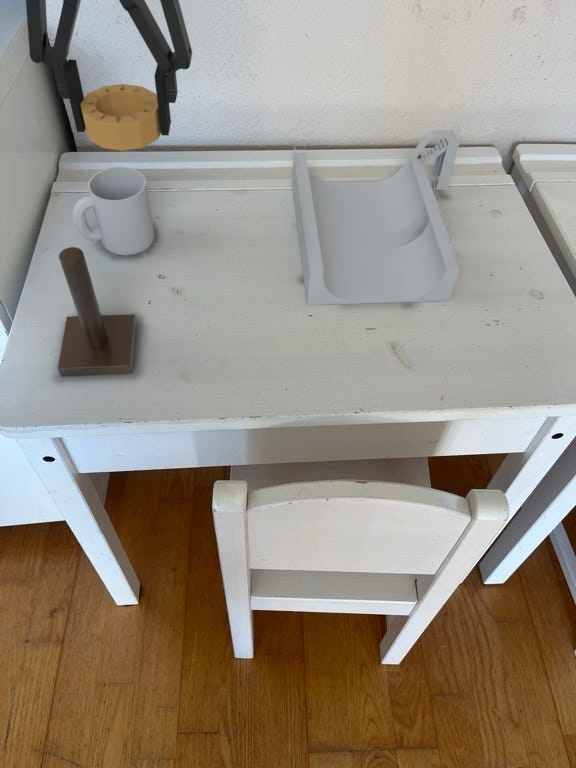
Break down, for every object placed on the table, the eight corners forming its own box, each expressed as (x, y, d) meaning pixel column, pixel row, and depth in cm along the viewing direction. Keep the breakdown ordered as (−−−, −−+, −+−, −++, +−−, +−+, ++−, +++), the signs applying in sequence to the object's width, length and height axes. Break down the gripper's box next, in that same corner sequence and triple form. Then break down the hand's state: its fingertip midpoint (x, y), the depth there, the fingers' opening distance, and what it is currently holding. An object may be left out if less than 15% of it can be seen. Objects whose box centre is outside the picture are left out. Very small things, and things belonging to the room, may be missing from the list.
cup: (161, 249, 86) (153, 193, 78) (88, 267, 83) (72, 212, 76) (147, 217, 89) (137, 161, 82) (76, 234, 87) (59, 178, 80)
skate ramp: (292, 185, 95) (295, 123, 87) (439, 183, 97) (456, 122, 89) (307, 304, 80) (312, 243, 72) (481, 300, 82) (505, 239, 74)
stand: (60, 376, 72) (23, 284, 60) (69, 324, 77) (36, 229, 65) (132, 373, 73) (108, 281, 61) (136, 322, 77) (115, 227, 66)
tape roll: (71, 129, 69) (64, 103, 67) (128, 102, 73) (123, 76, 71) (121, 159, 66) (116, 133, 64) (177, 129, 70) (175, 103, 68)
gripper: (214, -136, 55) (222, 113, 73) (-37, -151, 54) (35, 105, 72) (207, -109, 50) (219, 149, 68) (-66, -124, 49) (18, 142, 67)
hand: (124, 126), depth 70 cm, fingers closed on tape roll, 8 cm apart
